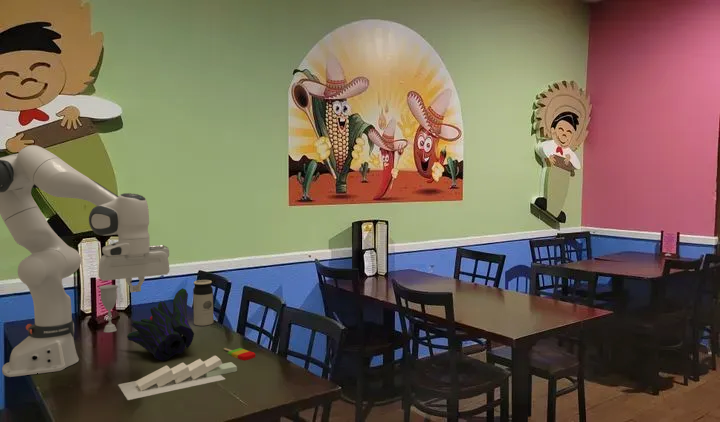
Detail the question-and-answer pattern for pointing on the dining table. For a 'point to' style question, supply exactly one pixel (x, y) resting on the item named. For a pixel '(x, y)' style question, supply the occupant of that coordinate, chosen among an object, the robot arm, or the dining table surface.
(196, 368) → the domino
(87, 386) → the dining table surface
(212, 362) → the domino
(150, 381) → the domino
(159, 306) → the decorative plant
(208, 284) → the travel mug
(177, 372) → the domino
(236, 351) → the popsicle
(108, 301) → the chalice
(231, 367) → the domino
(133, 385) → the mat
